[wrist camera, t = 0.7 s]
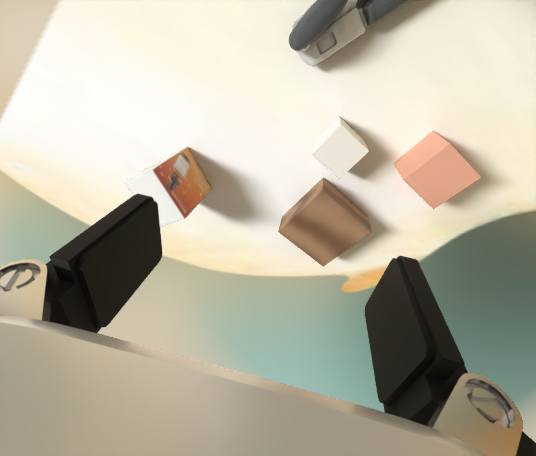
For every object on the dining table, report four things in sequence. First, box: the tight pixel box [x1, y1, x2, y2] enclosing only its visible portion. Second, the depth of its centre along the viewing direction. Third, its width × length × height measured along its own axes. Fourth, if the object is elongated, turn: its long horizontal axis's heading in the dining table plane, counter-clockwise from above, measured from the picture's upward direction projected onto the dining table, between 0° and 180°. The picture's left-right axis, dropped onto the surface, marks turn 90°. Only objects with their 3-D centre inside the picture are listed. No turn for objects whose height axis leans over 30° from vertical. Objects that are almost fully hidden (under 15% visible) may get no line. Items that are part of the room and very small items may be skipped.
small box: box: [124, 147, 212, 227], centre depth 40 cm, size 8×6×10 cm
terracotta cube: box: [394, 131, 481, 209], centre depth 34 cm, size 6×6×6 cm
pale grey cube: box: [312, 117, 369, 179], centre depth 35 cm, size 5×5×5 cm
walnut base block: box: [278, 178, 371, 266], centre depth 43 cm, size 10×10×5 cm
